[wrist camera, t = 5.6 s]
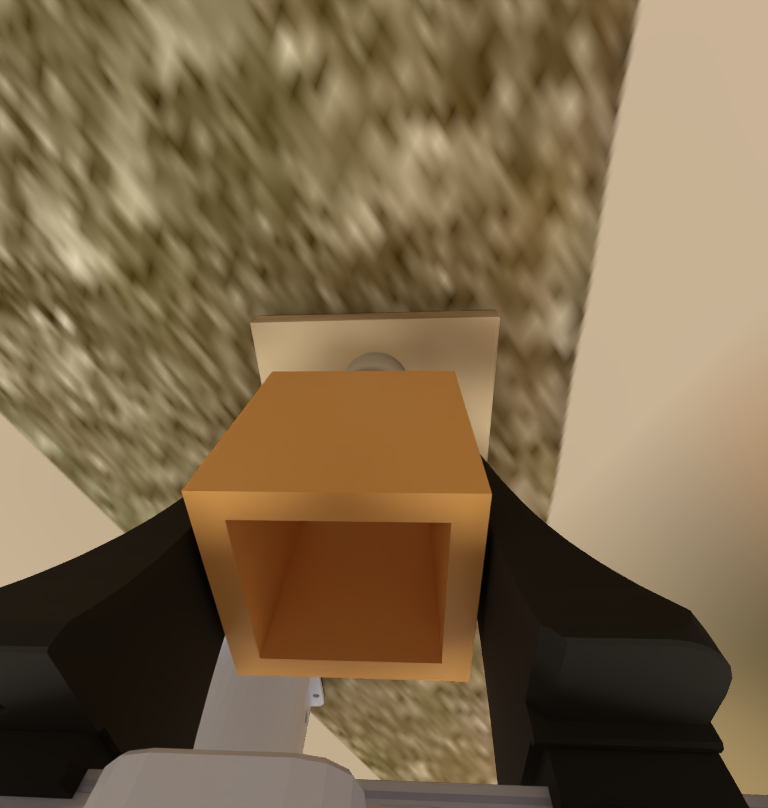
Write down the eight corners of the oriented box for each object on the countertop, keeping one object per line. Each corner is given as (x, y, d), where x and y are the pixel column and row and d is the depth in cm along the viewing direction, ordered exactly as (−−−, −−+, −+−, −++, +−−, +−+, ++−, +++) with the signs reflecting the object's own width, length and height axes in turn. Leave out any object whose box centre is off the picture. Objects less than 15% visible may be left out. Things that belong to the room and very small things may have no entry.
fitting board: (475, 538, 25) (492, 616, 20) (297, 537, 26) (273, 613, 21) (494, 310, 19) (524, 346, 14) (258, 315, 19) (212, 353, 15)
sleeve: (454, 370, 13) (492, 493, 7) (446, 513, 15) (468, 681, 10) (272, 371, 13) (180, 490, 8) (293, 511, 16) (237, 674, 10)
